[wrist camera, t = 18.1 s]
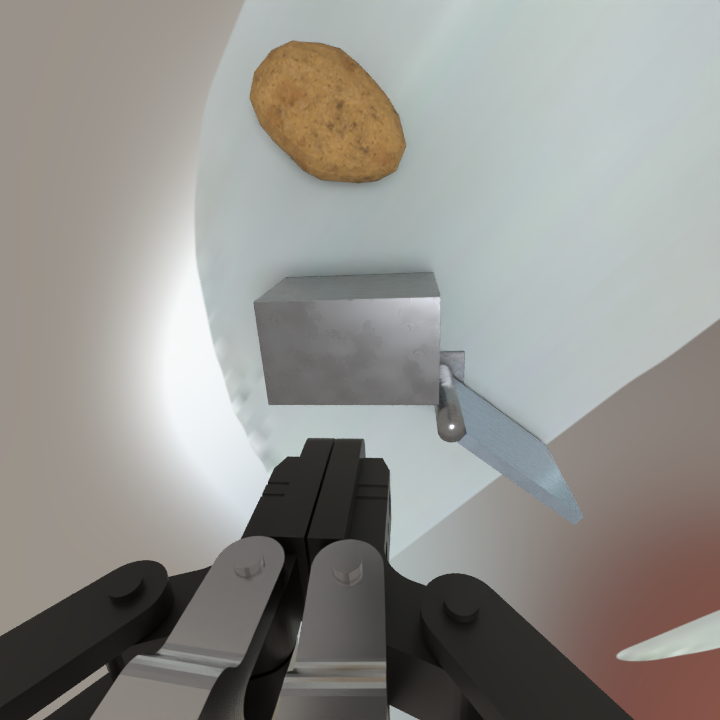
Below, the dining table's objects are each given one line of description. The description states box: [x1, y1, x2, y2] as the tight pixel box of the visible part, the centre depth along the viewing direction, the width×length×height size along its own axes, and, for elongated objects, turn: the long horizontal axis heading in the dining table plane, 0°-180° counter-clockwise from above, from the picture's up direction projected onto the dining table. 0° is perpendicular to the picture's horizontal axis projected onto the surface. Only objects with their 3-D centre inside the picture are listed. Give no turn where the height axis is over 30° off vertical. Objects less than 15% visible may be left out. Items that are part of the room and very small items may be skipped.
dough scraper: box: [435, 365, 584, 524], centre depth 45 cm, size 16×2×12 cm, turn 54°
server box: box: [254, 272, 465, 405], centre depth 44 cm, size 20×14×11 cm
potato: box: [250, 41, 406, 183], centre depth 38 cm, size 10×14×8 cm
